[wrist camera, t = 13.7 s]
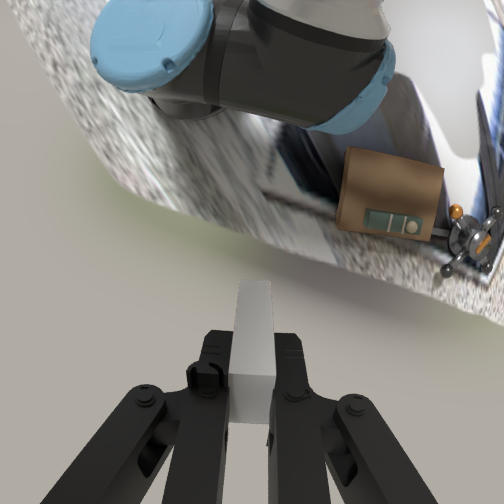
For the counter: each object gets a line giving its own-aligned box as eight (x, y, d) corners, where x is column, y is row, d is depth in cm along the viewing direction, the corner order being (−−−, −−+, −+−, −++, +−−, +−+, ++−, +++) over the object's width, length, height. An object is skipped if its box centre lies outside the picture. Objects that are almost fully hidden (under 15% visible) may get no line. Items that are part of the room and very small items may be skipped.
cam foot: (412, 202, 45) (418, 205, 43) (481, 217, 45) (487, 221, 43) (402, 247, 48) (407, 252, 46) (471, 256, 48) (476, 260, 46)
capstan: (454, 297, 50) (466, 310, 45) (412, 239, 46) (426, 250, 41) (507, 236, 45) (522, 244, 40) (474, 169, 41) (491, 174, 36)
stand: (343, 145, 42) (359, 147, 35) (430, 165, 42) (456, 171, 35) (332, 221, 47) (345, 237, 39) (417, 232, 47) (439, 249, 40)
